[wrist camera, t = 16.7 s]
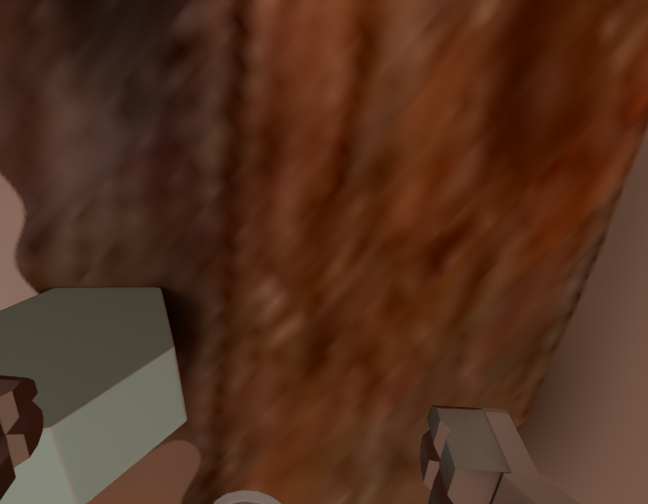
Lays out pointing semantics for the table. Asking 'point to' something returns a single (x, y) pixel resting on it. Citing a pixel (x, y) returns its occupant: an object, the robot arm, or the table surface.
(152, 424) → the grey-green faceted block
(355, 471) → the table surface
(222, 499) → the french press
